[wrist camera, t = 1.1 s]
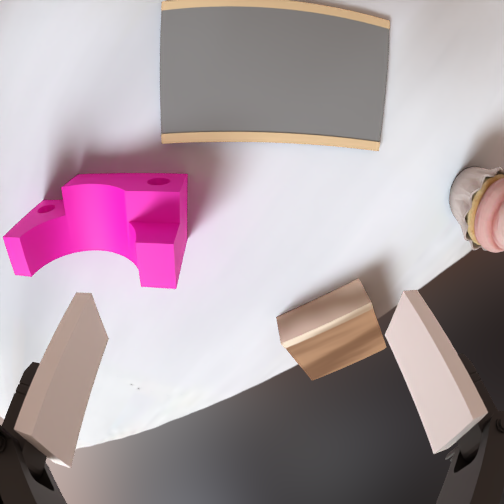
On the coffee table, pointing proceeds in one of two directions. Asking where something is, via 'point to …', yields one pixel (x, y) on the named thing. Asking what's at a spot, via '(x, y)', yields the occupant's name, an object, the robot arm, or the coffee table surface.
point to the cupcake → (480, 206)
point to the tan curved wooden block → (332, 331)
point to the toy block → (109, 224)
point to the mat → (271, 73)
